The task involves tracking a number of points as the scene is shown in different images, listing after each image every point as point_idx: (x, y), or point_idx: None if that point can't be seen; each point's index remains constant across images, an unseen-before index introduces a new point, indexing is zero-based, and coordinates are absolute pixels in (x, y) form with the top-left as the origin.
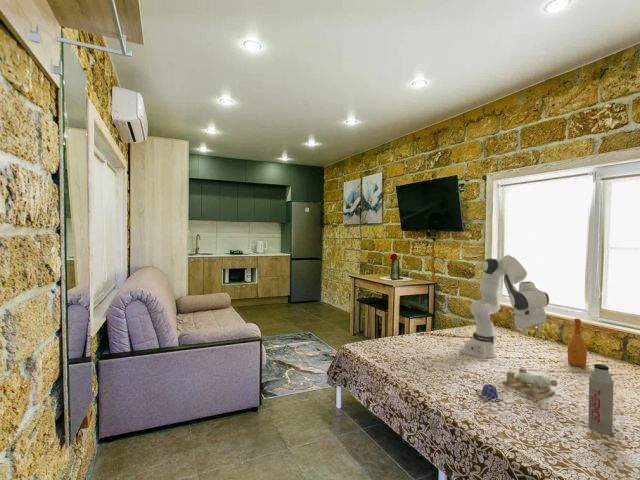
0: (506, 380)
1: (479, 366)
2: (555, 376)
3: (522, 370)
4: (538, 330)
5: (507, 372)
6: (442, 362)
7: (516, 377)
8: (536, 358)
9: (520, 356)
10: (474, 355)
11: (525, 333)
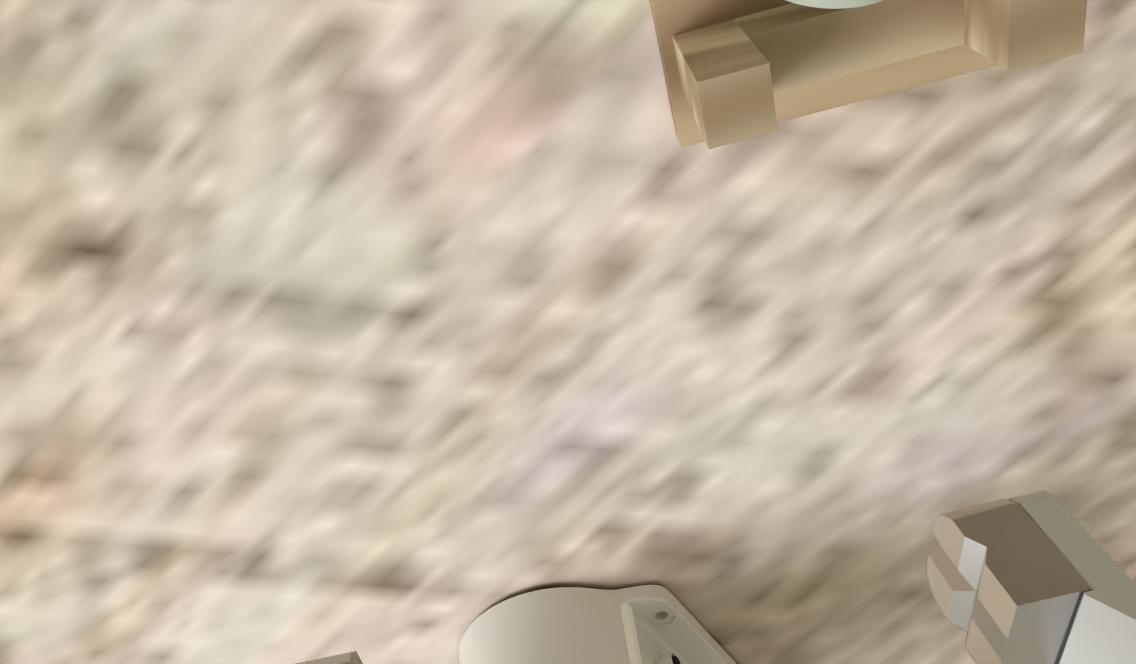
0: (965, 50)
1: (853, 449)
2: (131, 110)
3: (766, 74)
4: (350, 659)
5: (1075, 40)
6: (1127, 555)
7: (895, 4)
8: (61, 535)
9: (216, 586)
10: (703, 633)
11: (1061, 530)
